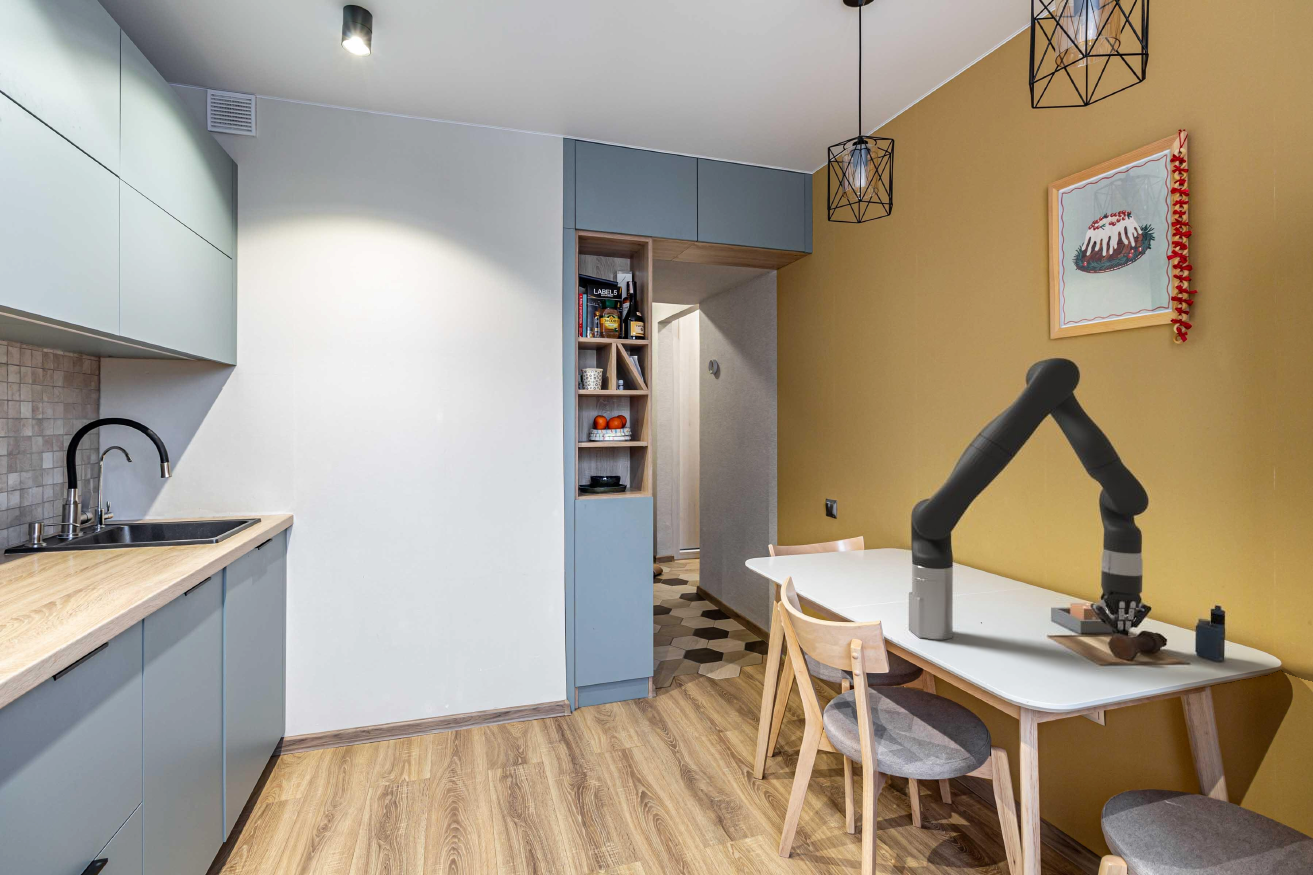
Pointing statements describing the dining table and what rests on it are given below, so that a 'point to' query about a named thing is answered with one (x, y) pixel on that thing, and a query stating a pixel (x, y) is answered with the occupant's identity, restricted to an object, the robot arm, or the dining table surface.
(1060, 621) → the tray
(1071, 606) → the die
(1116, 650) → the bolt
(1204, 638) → the vaping device
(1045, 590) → the dining table surface
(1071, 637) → the board
